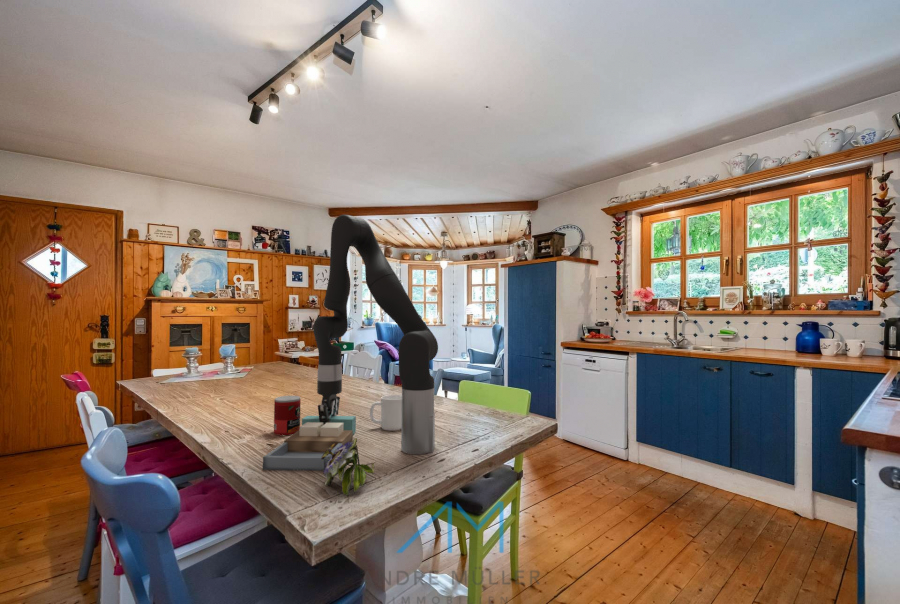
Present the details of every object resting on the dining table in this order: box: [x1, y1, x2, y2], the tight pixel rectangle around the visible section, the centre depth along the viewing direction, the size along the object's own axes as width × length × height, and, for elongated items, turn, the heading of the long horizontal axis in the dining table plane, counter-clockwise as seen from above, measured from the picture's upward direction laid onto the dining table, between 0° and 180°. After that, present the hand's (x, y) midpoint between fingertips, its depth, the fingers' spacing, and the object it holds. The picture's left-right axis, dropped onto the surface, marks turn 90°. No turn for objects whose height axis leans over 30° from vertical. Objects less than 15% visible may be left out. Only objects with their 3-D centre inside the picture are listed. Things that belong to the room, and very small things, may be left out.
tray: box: [262, 441, 342, 472], centre depth 98 cm, size 16×11×3 cm
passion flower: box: [321, 438, 376, 497], centre depth 85 cm, size 11×11×12 cm
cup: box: [369, 394, 402, 431], centre depth 129 cm, size 8×12×10 cm
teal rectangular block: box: [301, 415, 357, 435], centre depth 122 cm, size 16×4×5 cm, turn 88°
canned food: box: [273, 395, 302, 437], centre depth 123 cm, size 8×8×11 cm
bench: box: [283, 430, 354, 452], centre depth 109 cm, size 16×10×4 cm, turn 88°
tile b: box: [299, 422, 323, 436], centre depth 111 cm, size 5×5×2 cm
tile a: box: [320, 423, 344, 437], centre depth 110 cm, size 5×5×2 cm
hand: (329, 432), depth 122 cm, fingers closed on teal rectangular block, 4 cm apart
